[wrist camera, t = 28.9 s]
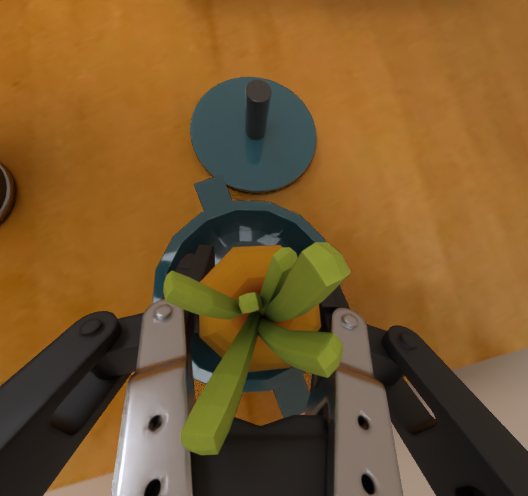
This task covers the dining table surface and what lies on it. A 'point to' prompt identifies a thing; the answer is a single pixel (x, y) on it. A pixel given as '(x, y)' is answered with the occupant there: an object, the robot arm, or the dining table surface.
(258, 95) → the pan lid
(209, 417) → the carrot
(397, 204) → the dining table surface
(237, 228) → the saucepan
